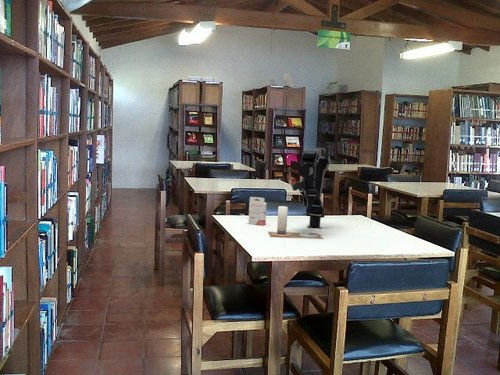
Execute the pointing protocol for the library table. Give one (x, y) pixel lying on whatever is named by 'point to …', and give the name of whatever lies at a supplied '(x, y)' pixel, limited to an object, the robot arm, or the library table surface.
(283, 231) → the frosted light bulb
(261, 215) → the ink cartridge box
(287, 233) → the terracotta coaster
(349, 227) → the library table surface
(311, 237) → the grey coaster
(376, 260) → the library table surface
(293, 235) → the walnut board
